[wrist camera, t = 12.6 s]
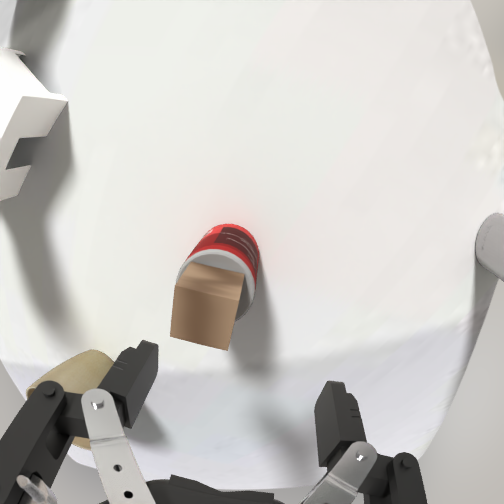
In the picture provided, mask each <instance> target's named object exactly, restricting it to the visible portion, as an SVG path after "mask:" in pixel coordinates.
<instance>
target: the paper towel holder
mask: <svg viewBox="0 0 504 504" xmlns="http://www.w3.org/2000/svg"><path fill="white" fill-rule="evenodd" d="M20 55H25V54H24V53H23V52H22V51H17V50H13V49H8V48H4V47H0V201H1V200H4V199H8V198H11V197H14V196H17V195H18V194H19V191H20V189H21V187H22V184H23V182H24V180H25V178H26V175H27V173H28V171H29V169H30V167H31V165H28V166H23V167H18V168H12V169H7V170H5V169H6V167H7V164H8V162H9V160H10V157H11V155H12V153H13V151H14V148H15V146H16V144H17V142H18V140H19V138H27V137H46V136H47V135H48V133H49V131H50V130H51V128H52V126H53V125H54V123H55V121H56V120H57V118H58V116H59V115H60V113H61V112H62V110H63V109H64V107H65V105H66V104H67V102H68V100H67V99H66V98H65V97H64V96H63V95H61V94H55V93H49V92H48V90H47V89H46V88H45V87H44V86H43V85H42V84H41V83H40V81H39V80H38V79H37V78H36V77H35V76H34V75H33V74H32V72H31V71H30V70H29V69H28V68H27V67H26V66H25V64H24V63H23V62H22V61H21V60H20V59H19V57H20ZM25 56H26V55H25Z"/></svg>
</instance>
